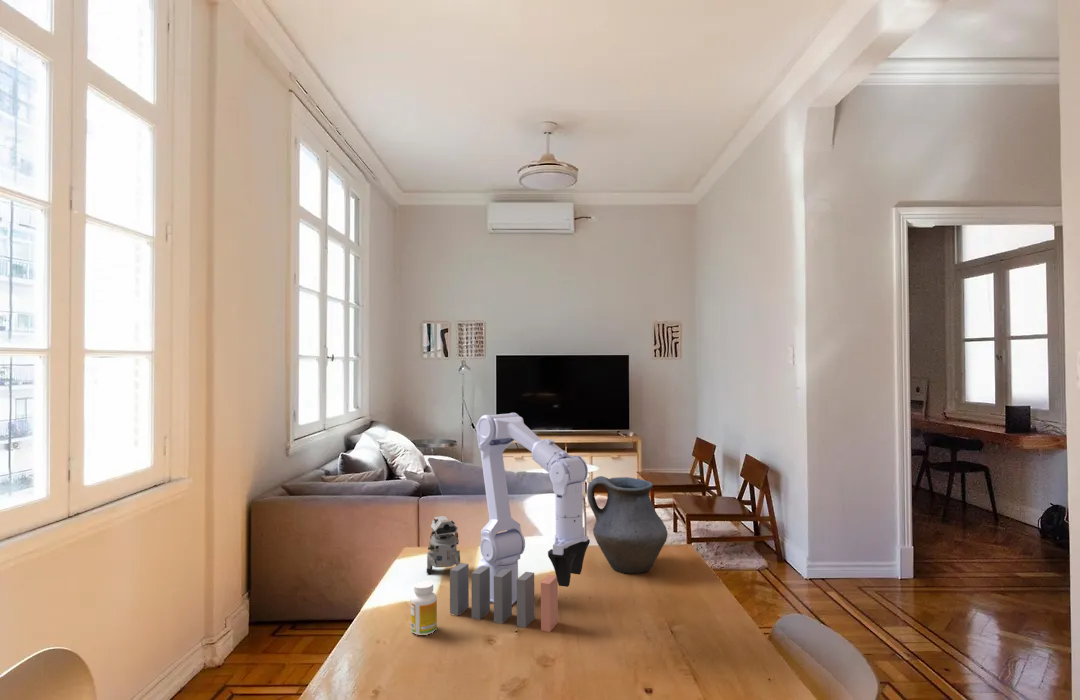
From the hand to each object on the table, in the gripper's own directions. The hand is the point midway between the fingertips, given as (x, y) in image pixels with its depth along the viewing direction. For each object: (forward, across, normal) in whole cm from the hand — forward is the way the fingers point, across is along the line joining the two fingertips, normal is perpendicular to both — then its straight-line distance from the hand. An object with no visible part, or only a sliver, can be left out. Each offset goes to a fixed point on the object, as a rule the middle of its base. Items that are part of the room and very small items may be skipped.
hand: (569, 579), depth 125 cm
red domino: (+11, 0, +5) cm, 12 cm away
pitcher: (+11, +42, -2) cm, 43 cm away
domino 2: (+10, 0, +21) cm, 24 cm away
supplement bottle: (+11, -12, +29) cm, 33 cm away
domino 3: (+10, 0, +16) cm, 19 cm away
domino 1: (+10, 0, +27) cm, 29 cm away
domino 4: (+10, 0, +10) cm, 15 cm away
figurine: (+10, +19, +43) cm, 48 cm away
